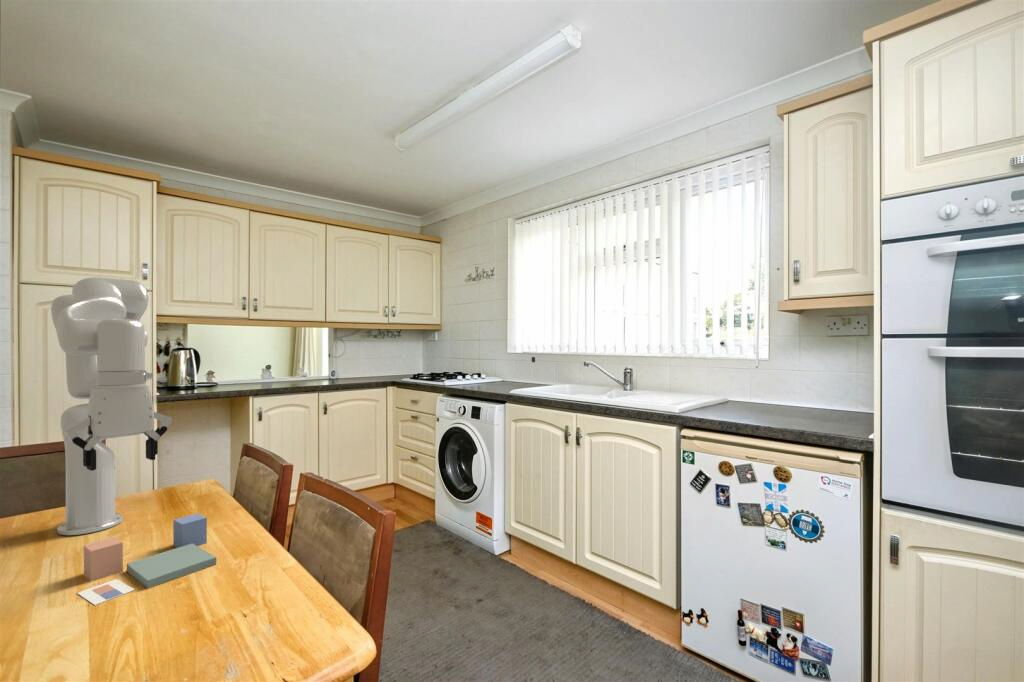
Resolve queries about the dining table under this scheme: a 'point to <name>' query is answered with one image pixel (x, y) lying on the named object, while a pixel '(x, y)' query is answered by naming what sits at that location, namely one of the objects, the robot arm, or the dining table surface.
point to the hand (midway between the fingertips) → (122, 464)
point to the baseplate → (170, 565)
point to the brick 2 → (190, 530)
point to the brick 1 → (103, 558)
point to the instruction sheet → (105, 591)
